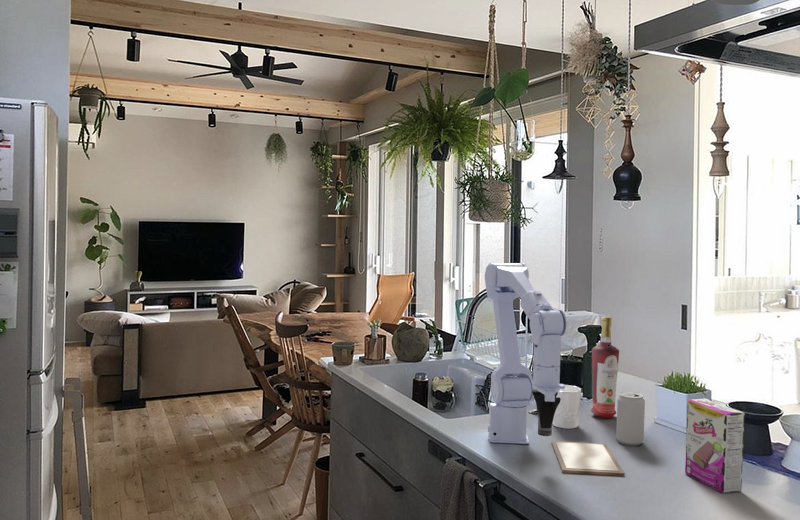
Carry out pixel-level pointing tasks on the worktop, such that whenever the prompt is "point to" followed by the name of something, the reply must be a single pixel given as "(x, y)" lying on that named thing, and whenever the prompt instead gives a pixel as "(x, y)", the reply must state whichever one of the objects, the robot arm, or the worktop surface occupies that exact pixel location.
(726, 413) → the candy bar box
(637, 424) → the beverage can
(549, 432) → the grey yellow rounded cylinder
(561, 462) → the writing board
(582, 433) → the worktop surface
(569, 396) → the white cup
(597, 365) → the liquor
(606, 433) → the worktop surface
